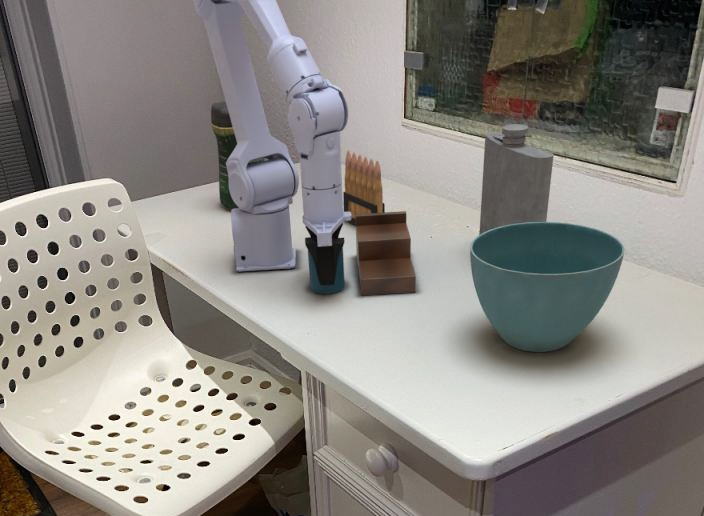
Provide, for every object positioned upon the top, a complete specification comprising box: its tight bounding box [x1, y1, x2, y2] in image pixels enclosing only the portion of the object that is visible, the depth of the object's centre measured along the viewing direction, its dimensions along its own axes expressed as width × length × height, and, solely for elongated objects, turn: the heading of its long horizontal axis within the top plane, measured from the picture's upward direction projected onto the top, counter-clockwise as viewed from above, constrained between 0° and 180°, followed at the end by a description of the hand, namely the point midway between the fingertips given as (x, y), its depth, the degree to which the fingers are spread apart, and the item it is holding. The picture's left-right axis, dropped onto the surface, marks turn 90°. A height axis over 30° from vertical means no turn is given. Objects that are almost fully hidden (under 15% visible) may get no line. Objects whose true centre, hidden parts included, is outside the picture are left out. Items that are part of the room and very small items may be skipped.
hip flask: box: [478, 123, 555, 236], centre depth 121 cm, size 16×4×20 cm, turn 19°
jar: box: [307, 247, 345, 295], centre depth 122 cm, size 5×5×6 cm
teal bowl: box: [469, 221, 625, 353], centre depth 103 cm, size 18×18×12 cm
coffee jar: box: [210, 100, 266, 210], centre depth 153 cm, size 10×8×19 cm
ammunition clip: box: [342, 150, 386, 227], centre depth 141 cm, size 11×2×12 cm, turn 31°
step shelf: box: [355, 210, 417, 296], centre depth 125 cm, size 8×16×7 cm, turn 1°
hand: (326, 277), depth 123 cm, fingers closed on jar, 5 cm apart
